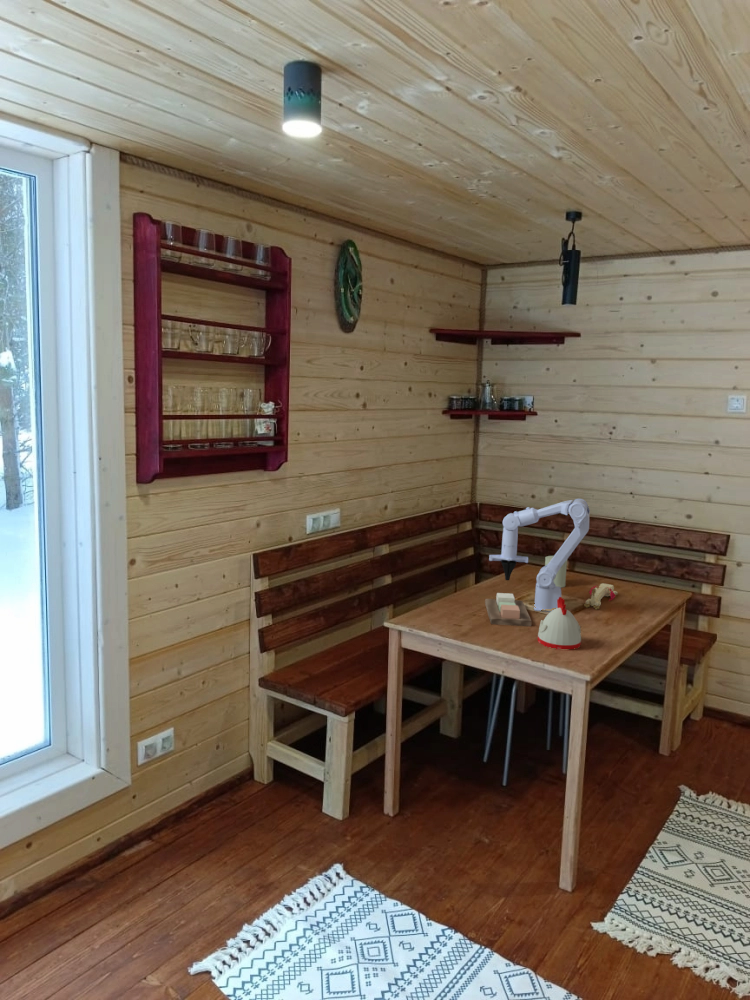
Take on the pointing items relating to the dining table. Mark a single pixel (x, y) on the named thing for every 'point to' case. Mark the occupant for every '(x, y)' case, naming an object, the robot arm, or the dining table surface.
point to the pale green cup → (560, 575)
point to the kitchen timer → (560, 629)
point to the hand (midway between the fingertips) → (507, 579)
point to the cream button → (505, 598)
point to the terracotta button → (510, 611)
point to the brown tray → (497, 619)
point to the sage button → (504, 604)
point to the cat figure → (600, 595)
